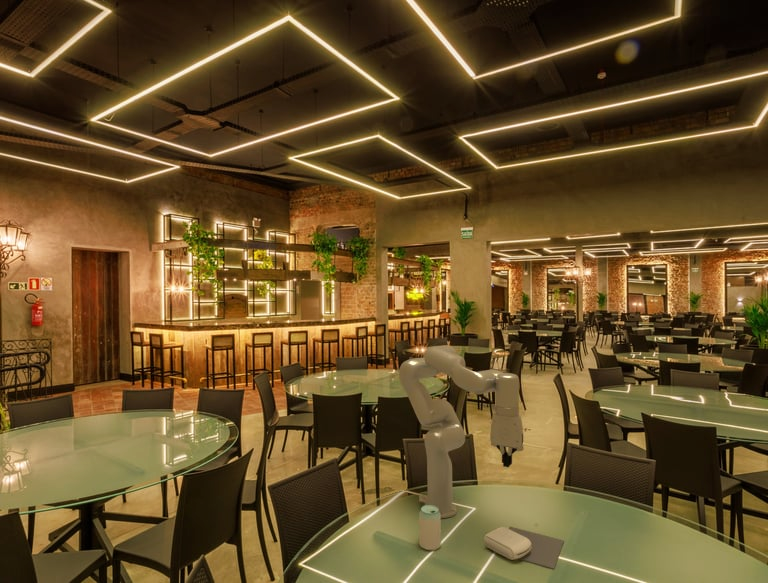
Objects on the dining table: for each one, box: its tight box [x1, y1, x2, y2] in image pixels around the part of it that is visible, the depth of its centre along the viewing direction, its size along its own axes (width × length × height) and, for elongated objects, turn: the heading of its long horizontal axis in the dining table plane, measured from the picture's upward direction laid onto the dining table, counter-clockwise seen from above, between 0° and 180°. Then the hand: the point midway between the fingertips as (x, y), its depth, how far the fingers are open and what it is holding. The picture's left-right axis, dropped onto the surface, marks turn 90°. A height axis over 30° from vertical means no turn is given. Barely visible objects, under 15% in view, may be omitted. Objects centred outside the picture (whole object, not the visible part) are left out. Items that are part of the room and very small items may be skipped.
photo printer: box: [483, 526, 532, 561], centre depth 140 cm, size 10×4×12 cm
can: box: [418, 504, 442, 551], centre depth 143 cm, size 7×7×12 cm
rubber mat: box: [494, 526, 565, 570], centre depth 142 cm, size 18×18×1 cm
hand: (506, 465), depth 145 cm, fingers closed
